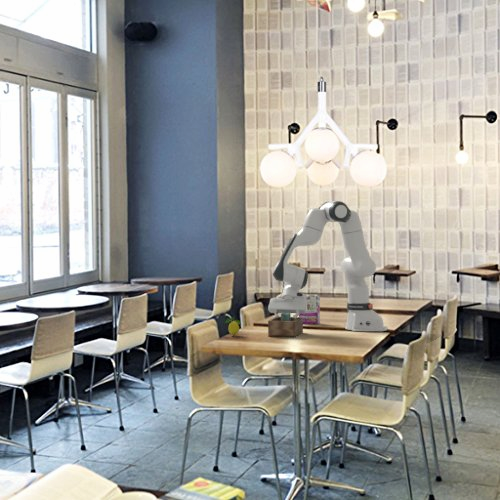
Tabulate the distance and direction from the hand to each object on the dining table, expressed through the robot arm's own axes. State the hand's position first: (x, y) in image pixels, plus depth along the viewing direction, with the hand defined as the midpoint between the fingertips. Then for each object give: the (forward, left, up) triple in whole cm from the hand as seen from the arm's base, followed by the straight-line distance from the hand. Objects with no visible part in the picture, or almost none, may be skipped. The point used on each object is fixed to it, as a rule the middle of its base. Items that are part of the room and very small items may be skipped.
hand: (285, 318), depth 411 cm
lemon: (+25, +9, -9) cm, 28 cm away
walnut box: (0, -1, -8) cm, 8 cm away
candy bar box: (-3, -43, -9) cm, 44 cm away
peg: (0, -1, -7) cm, 7 cm away
